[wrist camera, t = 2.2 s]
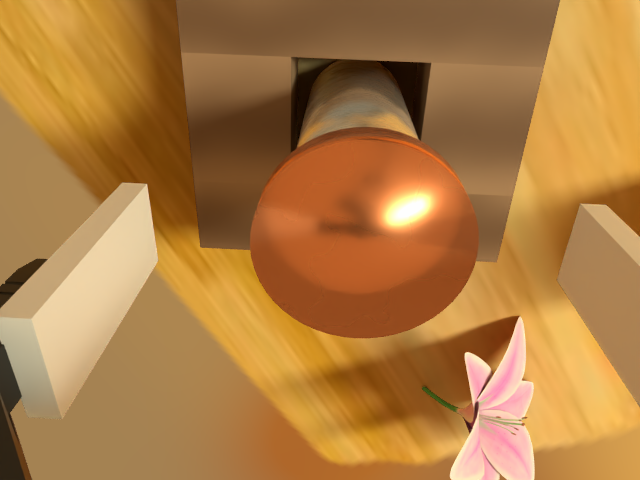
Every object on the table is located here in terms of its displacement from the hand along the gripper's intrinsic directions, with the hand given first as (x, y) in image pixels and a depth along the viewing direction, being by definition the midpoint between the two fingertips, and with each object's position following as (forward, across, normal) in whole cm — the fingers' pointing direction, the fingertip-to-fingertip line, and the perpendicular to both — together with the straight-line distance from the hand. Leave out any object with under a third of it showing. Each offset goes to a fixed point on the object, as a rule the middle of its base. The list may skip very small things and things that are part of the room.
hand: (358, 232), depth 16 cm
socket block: (+14, 0, 0) cm, 14 cm away
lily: (+14, +10, -18) cm, 25 cm away
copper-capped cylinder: (+14, 0, 0) cm, 14 cm away
